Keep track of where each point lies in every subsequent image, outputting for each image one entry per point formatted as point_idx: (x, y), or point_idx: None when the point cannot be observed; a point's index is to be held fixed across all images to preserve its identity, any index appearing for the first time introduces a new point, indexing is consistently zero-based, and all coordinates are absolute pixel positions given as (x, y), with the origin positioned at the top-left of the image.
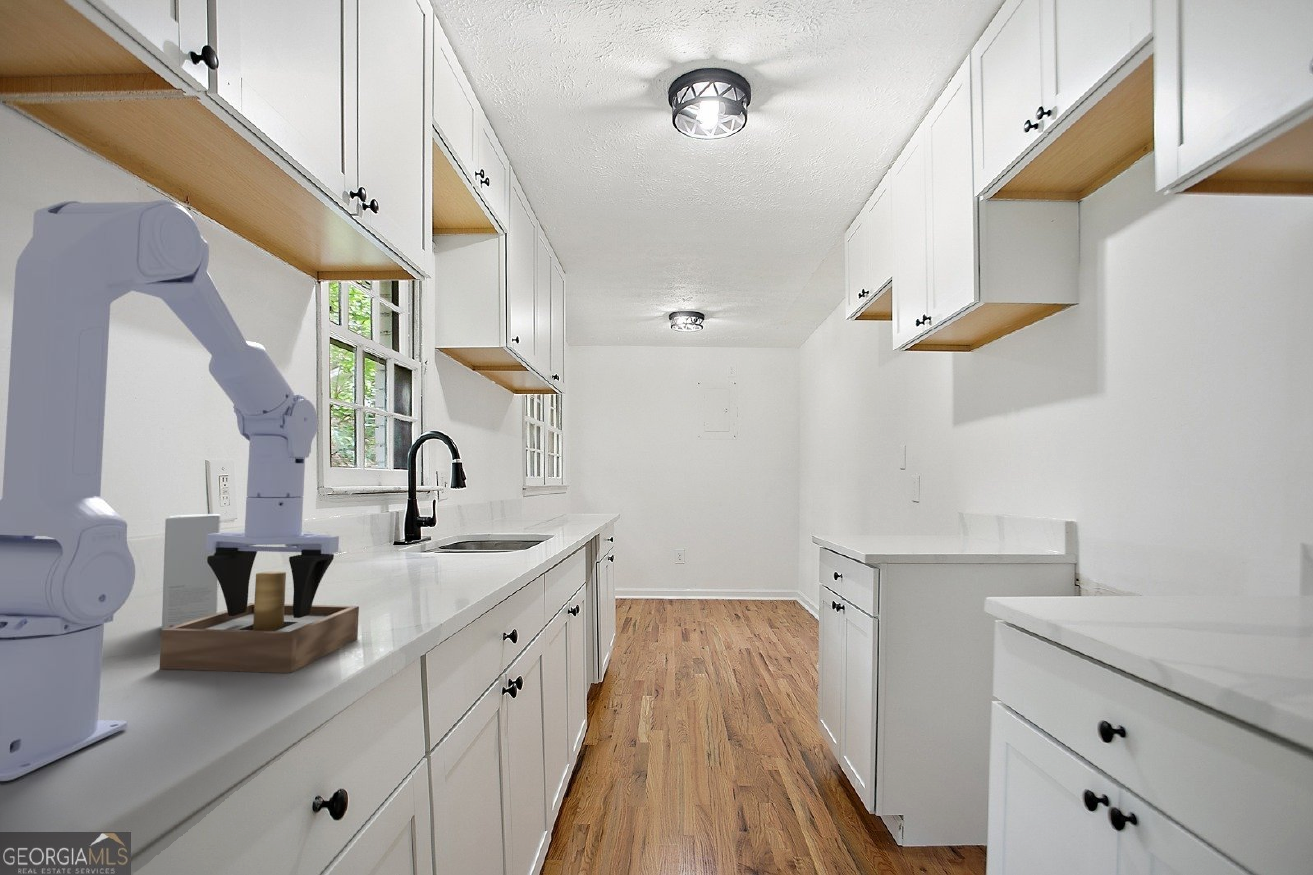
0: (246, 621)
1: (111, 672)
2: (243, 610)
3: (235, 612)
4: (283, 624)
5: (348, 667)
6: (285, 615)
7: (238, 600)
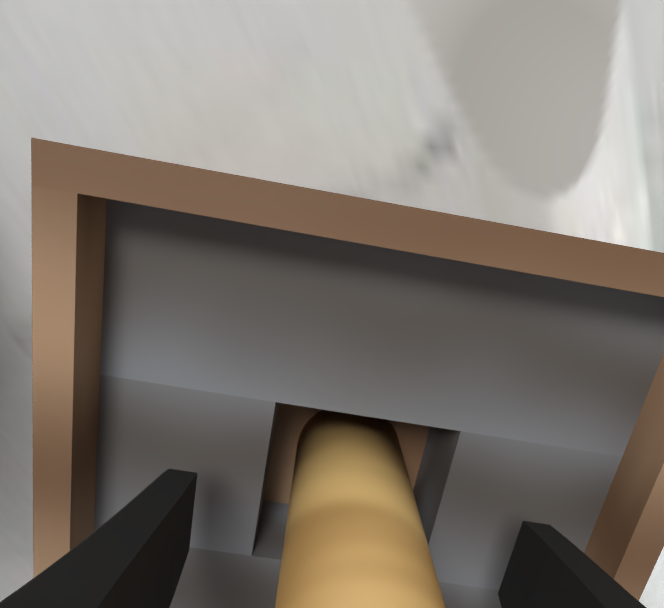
0: (204, 411)
1: (4, 592)
2: (191, 498)
3: (185, 557)
4: (411, 486)
5: (648, 587)
6: (336, 278)
7: (158, 592)
